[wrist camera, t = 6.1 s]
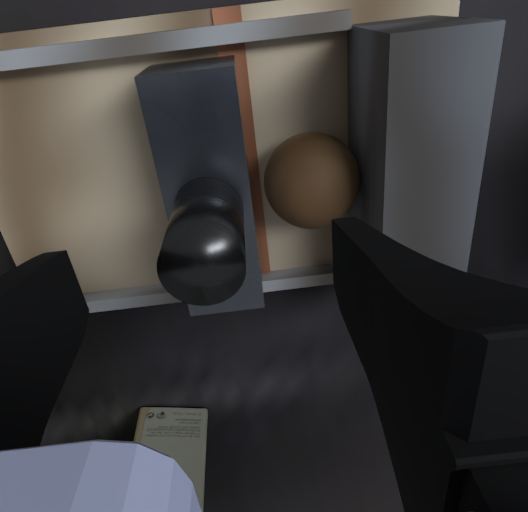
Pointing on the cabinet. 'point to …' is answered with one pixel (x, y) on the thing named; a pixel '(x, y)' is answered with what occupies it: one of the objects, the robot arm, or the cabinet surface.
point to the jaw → (202, 184)
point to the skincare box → (177, 439)
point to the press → (251, 134)
